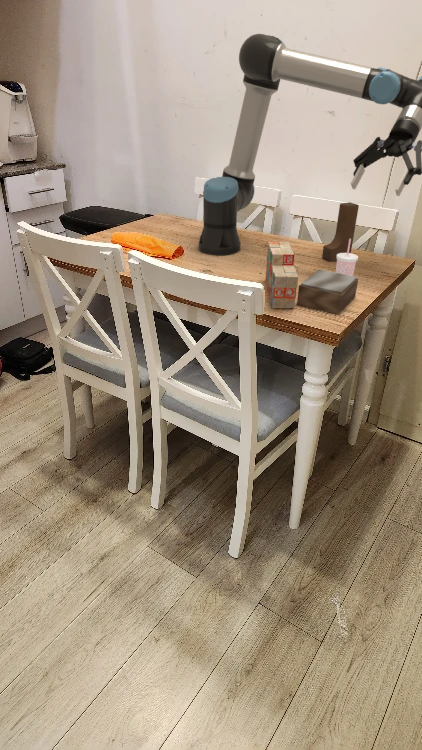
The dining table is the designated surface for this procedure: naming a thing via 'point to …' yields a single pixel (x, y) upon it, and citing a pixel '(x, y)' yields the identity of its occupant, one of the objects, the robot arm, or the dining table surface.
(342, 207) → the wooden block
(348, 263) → the beverage cup
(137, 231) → the dining table surface
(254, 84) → the robot arm
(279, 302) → the stack of blocks
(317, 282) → the plinth
